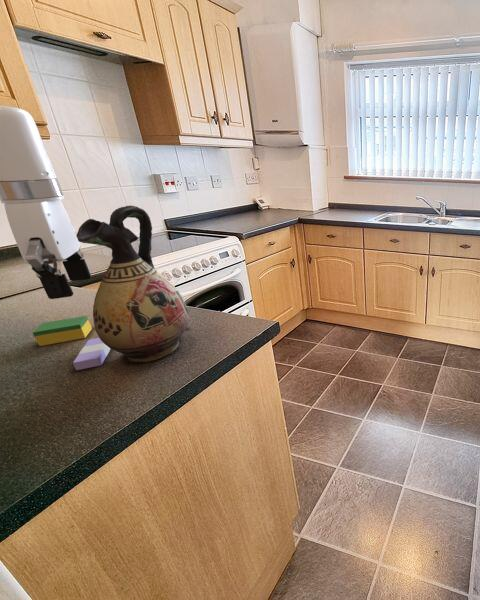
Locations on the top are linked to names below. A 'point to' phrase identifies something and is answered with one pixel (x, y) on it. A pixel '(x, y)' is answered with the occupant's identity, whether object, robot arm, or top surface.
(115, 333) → the ceramic jug
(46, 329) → the sponge
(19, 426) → the top surface
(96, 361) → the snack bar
